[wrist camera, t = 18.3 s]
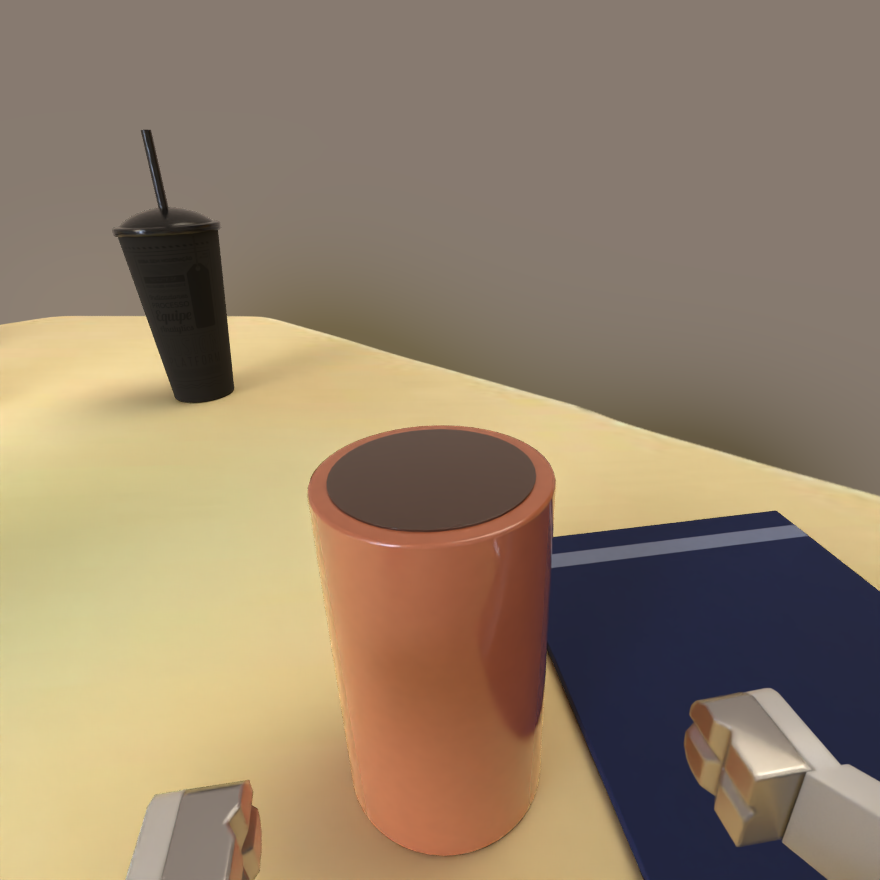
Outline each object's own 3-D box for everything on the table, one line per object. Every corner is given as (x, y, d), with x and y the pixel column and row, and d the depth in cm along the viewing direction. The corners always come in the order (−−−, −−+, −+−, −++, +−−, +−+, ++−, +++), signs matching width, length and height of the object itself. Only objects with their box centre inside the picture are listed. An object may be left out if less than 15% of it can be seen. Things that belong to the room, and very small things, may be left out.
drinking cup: (260, 375, 53) (215, 131, 44) (238, 406, 46) (180, 123, 38) (177, 380, 53) (116, 135, 44) (141, 411, 46) (62, 128, 37)
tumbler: (508, 895, 14) (515, 571, 10) (314, 809, 16) (252, 511, 12) (559, 710, 19) (578, 438, 15) (403, 662, 21) (381, 412, 17)
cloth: (1475, 1076, 11) (1491, 1067, 11) (805, 1268, 9) (811, 1259, 9) (774, 517, 29) (776, 509, 29) (504, 549, 27) (504, 542, 27)
